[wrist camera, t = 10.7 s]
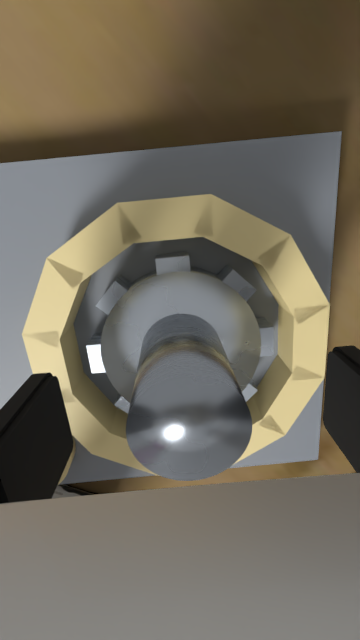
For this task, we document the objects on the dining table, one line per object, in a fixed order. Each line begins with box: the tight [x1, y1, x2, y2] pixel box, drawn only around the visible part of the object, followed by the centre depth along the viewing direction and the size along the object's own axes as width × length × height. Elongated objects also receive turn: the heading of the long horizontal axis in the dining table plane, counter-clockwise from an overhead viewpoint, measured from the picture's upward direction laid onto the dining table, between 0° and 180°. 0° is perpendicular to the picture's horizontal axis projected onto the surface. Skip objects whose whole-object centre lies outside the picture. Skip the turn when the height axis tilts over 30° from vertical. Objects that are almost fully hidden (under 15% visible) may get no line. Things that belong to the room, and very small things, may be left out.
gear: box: [86, 252, 274, 481], centre depth 12 cm, size 8×8×7 cm
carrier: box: [0, 131, 342, 485], centre depth 15 cm, size 19×17×4 cm
